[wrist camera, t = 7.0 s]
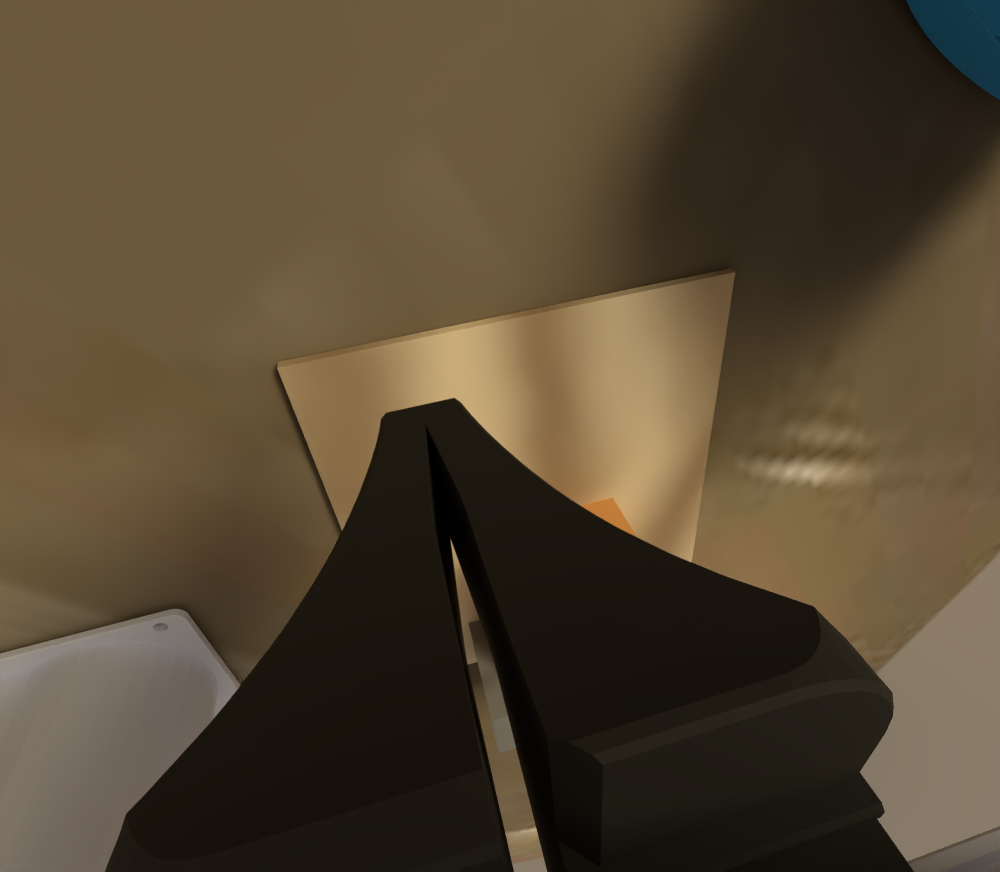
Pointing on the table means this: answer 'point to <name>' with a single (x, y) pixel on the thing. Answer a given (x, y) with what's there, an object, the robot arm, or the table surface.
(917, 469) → the table surface
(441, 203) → the table surface
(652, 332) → the dock
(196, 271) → the table surface
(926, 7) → the alarm clock
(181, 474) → the table surface
